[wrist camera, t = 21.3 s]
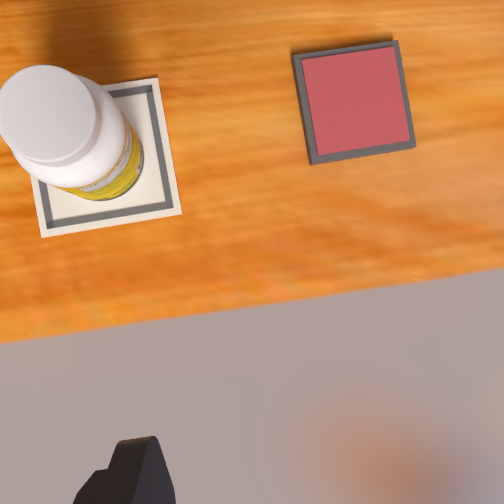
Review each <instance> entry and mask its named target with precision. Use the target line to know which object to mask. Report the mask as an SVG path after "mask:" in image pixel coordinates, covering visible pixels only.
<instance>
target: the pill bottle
mask: <svg viewBox="0 0 504 504" xmlns="http://www.w3.org/2000/svg"><path fill="white" fill-rule="evenodd" d="M0 134H1V136H2V138H3V139H4V141H5V142H6V143H7V144H8V145H9V147H10V148H11V150H12V152H13V154H14V156H15V158H16V159H17V161H18V162H19V164H20V165H21V166H22V167H23V168H24V169H25V170H26V171H27V172H28V173H29V174H31V175H32V176H34V177H35V178H37V179H38V180H40V181H42V182H44V183H46V184H49V185H51V186H53V187H56V188H58V189H61V190H63V191H66V192H68V193H71V194H73V195H76V196H78V197H81V198H83V199H87V200H91V201H100V202H103V201H110V200H114V199H117V198H119V197H121V196H123V195H125V194H126V193H128V192H129V191H130V190H131V189H132V188H133V187H134V186H135V185H136V184H137V182H138V181H139V179H140V177H141V175H142V172H143V168H144V150H143V146H142V143H141V141H140V139H139V137H138V135H137V133H136V132H135V130H134V129H133V127H132V126H131V124H130V123H129V122H128V120H127V118H126V117H125V115H124V114H123V112H122V111H121V109H120V108H119V106H118V105H117V103H116V102H115V100H114V99H113V98H112V96H111V95H110V94H109V93H108V92H107V91H106V90H105V89H104V88H103V87H101V86H100V85H99V84H97V83H95V82H94V81H92V80H90V79H88V78H85V77H82V76H79V75H75V74H73V73H71V72H70V71H68V70H66V69H63V68H60V67H57V66H52V65H35V66H31V67H27V68H25V69H22V70H20V71H18V72H17V73H15V74H14V75H13V76H11V77H10V78H9V79H8V80H7V81H6V82H5V84H4V85H3V86H2V88H1V90H0Z"/></svg>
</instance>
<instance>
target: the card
mask: <svg viewBox="0 0 504 504" xmlns="http://www.w3.org/2000/svg"><path fill="white" fill-rule="evenodd" d="M101 87H103V88H104V89H105V90H106V91H107V92H108V93H109V94H110V95H111V96H112V98H113V99H114V100H115V102H116V103H117V105H118V106H119V108H120V109H121V111H122V112H123V114H124V115H125V117H126V118H127V120H128V122H129V123H130V124H131V126H132V127H133V129H134V130H135V132H136V133H137V135H138V137H139V139H140V141H141V143H142V146H143V150H144V168H143V172H142V175H141V177H140V179H139V181H138V182H137V184H136V185H135V186H134V187H133V188H132V189H131V190H130V191H129V192H128V193H126V194H125V195H123V196H121V197H119V198H117V199H114V200H110V201H103V202H100V201H91V200H87V199H83V198H81V197H78V196H76V195H73V194H71V193H68V192H66V191H63V190H61V189H58V188H56V187H53V186H51V185H49V184H46V183H44V182H42V181H40V180H38V179H37V178H35V177H34V176H32V175H31V174H30V177H31V182H32V188H33V193H34V199H35V204H36V210H37V215H38V221H39V226H40V232H41V237H42V238H44V237H50V236H56V235H62V234H67V233H73V232H79V231H85V230H91V229H97V228H103V227H109V226H115V225H121V224H127V223H132V222H138V221H144V220H150V219H156V218H162V217H168V216H174V215H180V214H182V210H181V205H180V199H179V193H178V188H177V182H176V177H175V171H174V165H173V160H172V154H171V149H170V143H169V137H168V132H167V126H166V121H165V115H164V109H163V104H162V98H161V93H160V87H159V82H158V78H151V79H144V80H137V81H130V82H123V83H116V84H109V85H103V86H101Z"/></svg>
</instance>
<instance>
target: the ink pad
mask: <svg viewBox="0 0 504 504" xmlns="http://www.w3.org/2000/svg"><path fill="white" fill-rule="evenodd" d="M292 66H293V71H294V77H295V83H296V88H297V94H298V100H299V105H300V111H301V117H302V122H303V128H304V134H305V139H306V145H307V151H308V156H309V162H310V165H315V164H321V163H327V162H333V161H340V160H346V159H352V158H358V157H364V156H370V155H376V154H382V153H388V152H394V151H400V150H407V149H412V148H414V147H416V141H415V135H414V129H413V124H412V118H411V112H410V106H409V101H408V95H407V89H406V83H405V78H404V72H403V66H402V60H401V55H400V49H399V43H398V40H396V41H389V42H382V43H375V44H368V45H361V46H354V47H347V48H340V49H333V50H326V51H319V52H312V53H305V54H298V55H293V57H292Z"/></svg>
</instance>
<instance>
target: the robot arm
mask: <svg viewBox="0 0 504 504" xmlns="http://www.w3.org/2000/svg"><path fill="white" fill-rule="evenodd" d="M73 504H176V500H175V492H174V487H173V484H172V481H171V478H170V475H169V472H168V469H167V466H166V463H165V460H164V456H163V453H162V450H161V447H160V444H159V442H158V439H157V438H156V437H155V436H149V437H143V438H136V439H129V440H122V441H120V442H118V444H117V445H116V447H115V450H114V453H113V456H112V458H111V461H110V464H109V467H108V469H104V470H98V471H95V472H94V473H93V474H92V476H91V477H90V478H89V479H88V481H87V482H86V483H85V484H84V485H83V487H82V488H81V489H80V490H79V492H78V493H77V495H76V497H75V500H74V502H73Z"/></svg>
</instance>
